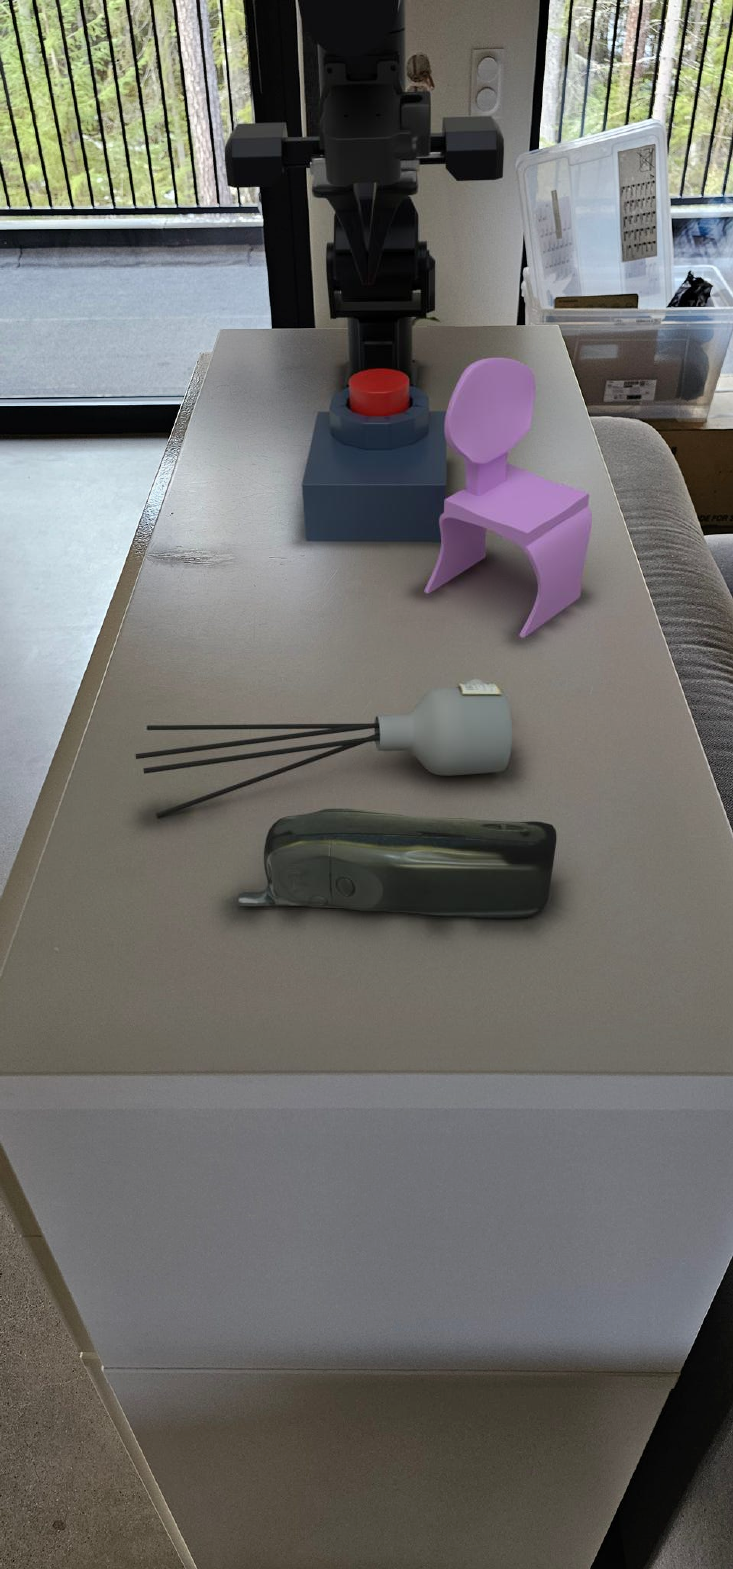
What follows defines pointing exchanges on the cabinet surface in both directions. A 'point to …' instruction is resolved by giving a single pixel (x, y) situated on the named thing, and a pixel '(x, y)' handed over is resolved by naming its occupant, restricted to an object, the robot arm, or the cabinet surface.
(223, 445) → the cabinet surface
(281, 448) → the cabinet surface
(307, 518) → the switch box
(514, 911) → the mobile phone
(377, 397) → the button
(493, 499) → the toy chair
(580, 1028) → the cabinet surface
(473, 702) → the reed diffuser
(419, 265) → the robot arm
